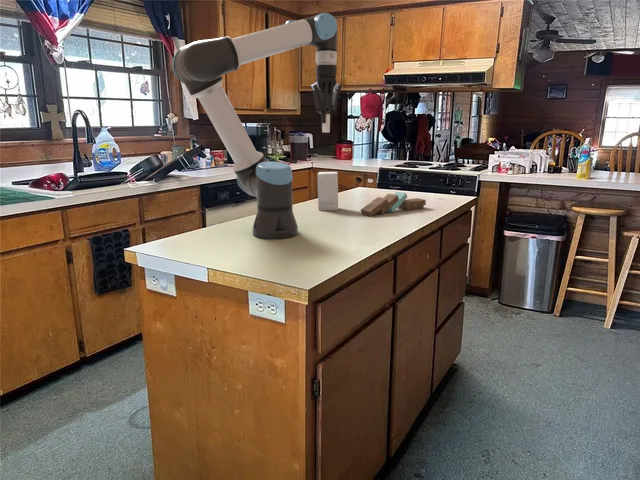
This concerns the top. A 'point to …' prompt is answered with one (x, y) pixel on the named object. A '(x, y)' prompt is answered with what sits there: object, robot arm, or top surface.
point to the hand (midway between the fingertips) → (325, 132)
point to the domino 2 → (389, 202)
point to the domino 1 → (374, 206)
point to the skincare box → (327, 190)
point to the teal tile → (401, 198)
